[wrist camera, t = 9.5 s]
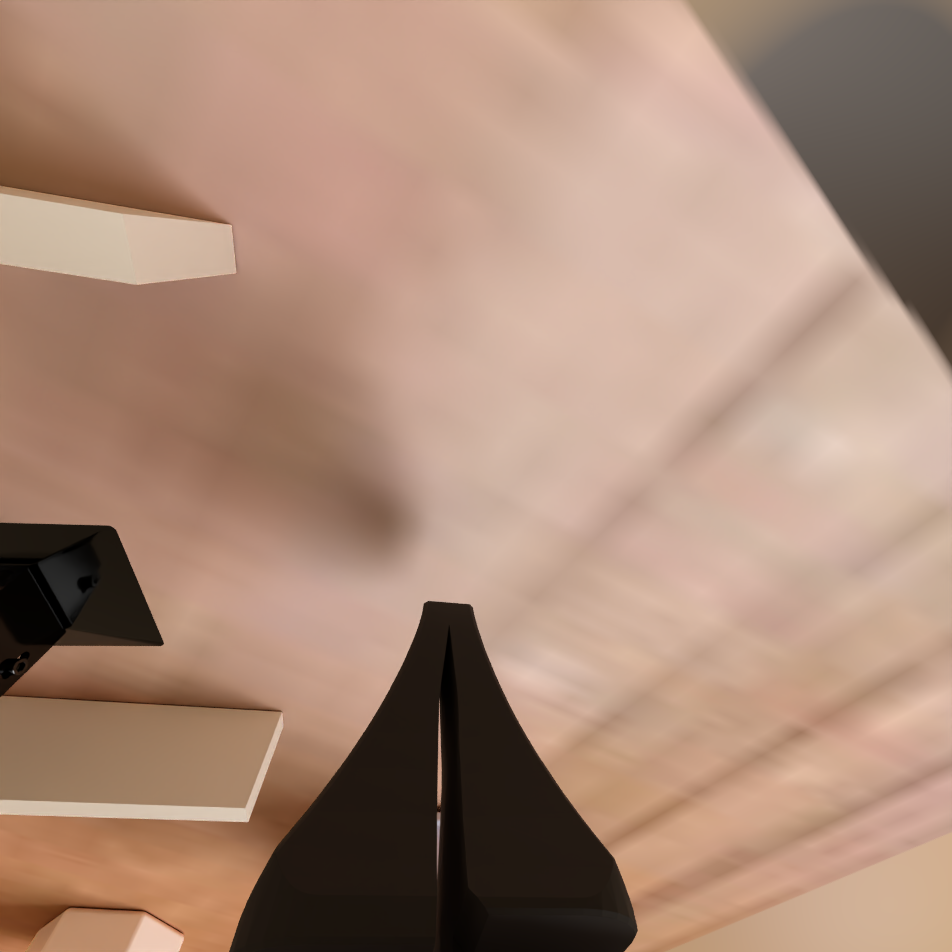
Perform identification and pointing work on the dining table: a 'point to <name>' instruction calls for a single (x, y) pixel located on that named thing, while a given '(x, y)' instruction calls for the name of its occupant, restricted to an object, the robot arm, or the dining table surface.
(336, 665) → the dining table surface
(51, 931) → the jar
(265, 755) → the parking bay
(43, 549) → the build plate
